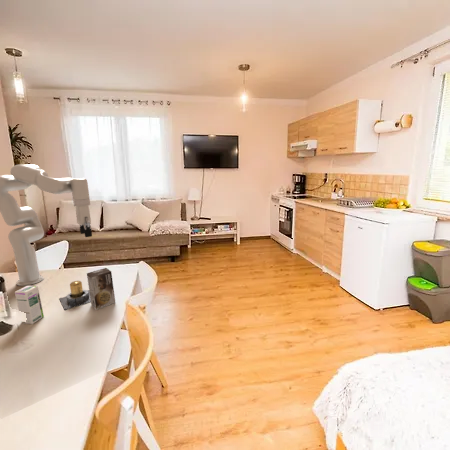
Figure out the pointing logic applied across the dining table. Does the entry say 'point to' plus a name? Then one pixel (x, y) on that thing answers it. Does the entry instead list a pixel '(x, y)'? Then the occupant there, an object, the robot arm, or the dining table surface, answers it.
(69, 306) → the ring fixture
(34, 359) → the dining table surface
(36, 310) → the syrup box
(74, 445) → the dining table surface
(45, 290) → the dining table surface
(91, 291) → the coffee box
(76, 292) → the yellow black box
